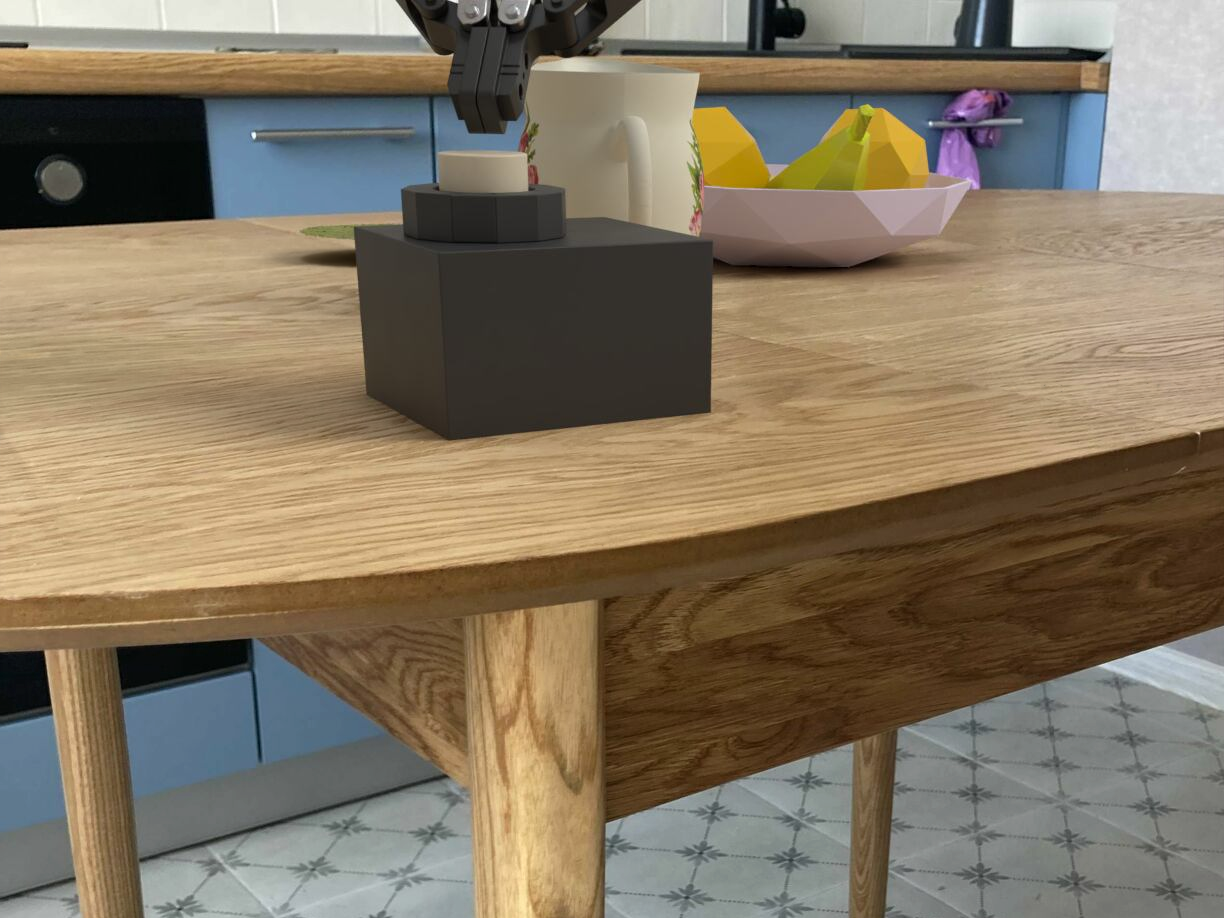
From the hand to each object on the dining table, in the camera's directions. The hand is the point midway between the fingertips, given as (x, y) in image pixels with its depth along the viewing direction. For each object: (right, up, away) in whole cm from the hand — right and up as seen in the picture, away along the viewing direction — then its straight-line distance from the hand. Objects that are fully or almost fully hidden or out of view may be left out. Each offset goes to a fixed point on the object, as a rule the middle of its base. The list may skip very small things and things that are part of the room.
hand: (481, 119), depth 62 cm
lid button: (0, -3, +1) cm, 3 cm away
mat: (-16, +11, +52) cm, 55 cm away
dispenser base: (+2, -10, +6) cm, 12 cm away
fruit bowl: (+15, +12, +55) cm, 58 cm away
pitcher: (+3, +1, +30) cm, 30 cm away
